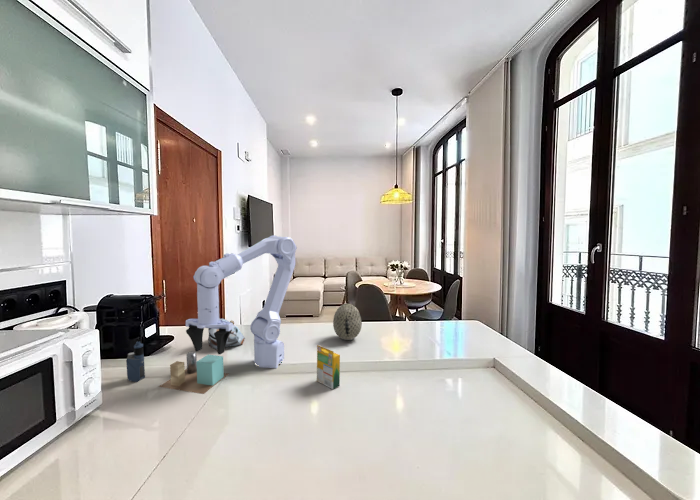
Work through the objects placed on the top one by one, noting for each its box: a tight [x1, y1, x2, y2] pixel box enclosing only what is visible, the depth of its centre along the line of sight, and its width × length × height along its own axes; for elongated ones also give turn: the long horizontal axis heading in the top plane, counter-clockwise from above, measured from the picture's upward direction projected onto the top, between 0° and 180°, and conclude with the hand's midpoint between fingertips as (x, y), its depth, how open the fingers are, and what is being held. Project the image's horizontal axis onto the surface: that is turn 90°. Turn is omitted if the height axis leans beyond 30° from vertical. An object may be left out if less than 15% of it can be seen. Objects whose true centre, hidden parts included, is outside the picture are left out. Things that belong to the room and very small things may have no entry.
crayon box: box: [316, 344, 341, 390], centre depth 97 cm, size 7×3×12 cm, turn 47°
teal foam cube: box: [197, 353, 225, 387], centre depth 96 cm, size 5×5×7 cm
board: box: [157, 368, 230, 395], centre depth 96 cm, size 15×12×1 cm
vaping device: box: [125, 341, 146, 383], centre depth 97 cm, size 3×5×12 cm, turn 78°
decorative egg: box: [332, 303, 363, 341], centre depth 132 cm, size 12×12×15 cm
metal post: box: [186, 351, 198, 374], centre depth 101 cm, size 3×3×6 cm
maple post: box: [169, 360, 186, 386], centre depth 94 cm, size 3×3×6 cm
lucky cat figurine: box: [207, 318, 246, 350], centre depth 123 cm, size 15×12×14 cm
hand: (209, 351), depth 95 cm, fingers open, 7 cm apart
